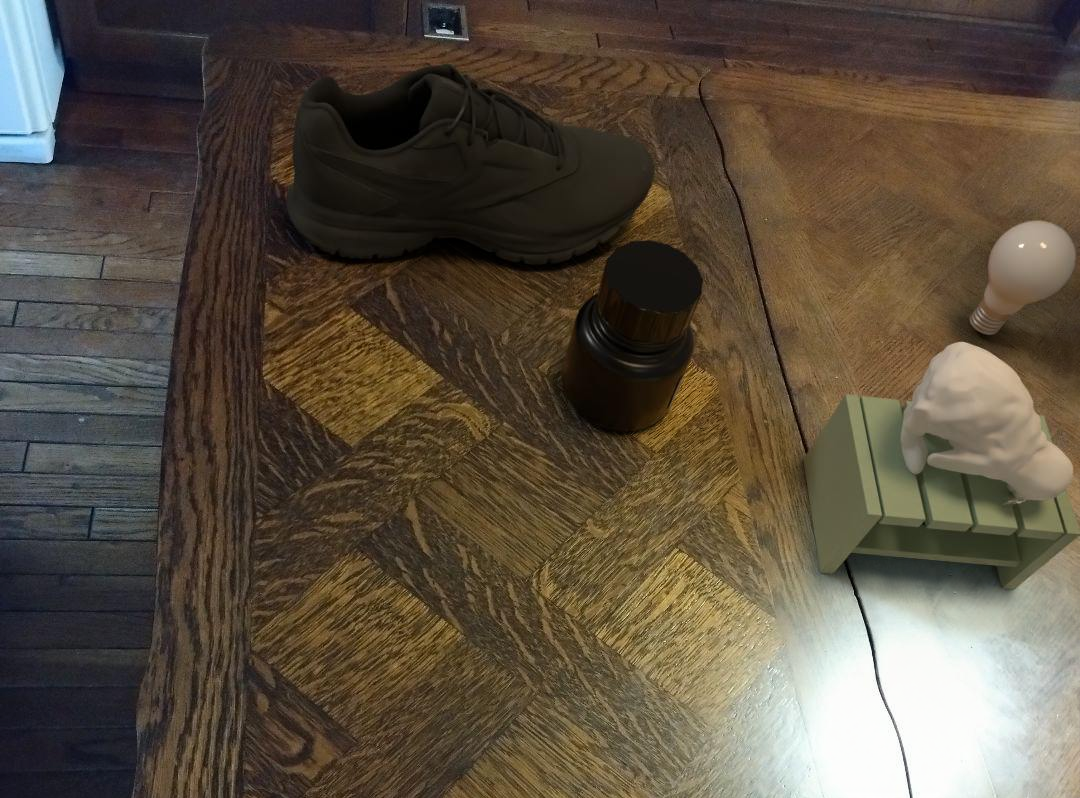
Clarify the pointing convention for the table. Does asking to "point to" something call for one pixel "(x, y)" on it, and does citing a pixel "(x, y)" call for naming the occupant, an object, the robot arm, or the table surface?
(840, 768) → the table surface
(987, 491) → the stool
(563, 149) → the running shoe
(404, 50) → the table surface
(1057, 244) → the lightbulb
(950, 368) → the white animal figurine
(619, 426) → the ink bottle
